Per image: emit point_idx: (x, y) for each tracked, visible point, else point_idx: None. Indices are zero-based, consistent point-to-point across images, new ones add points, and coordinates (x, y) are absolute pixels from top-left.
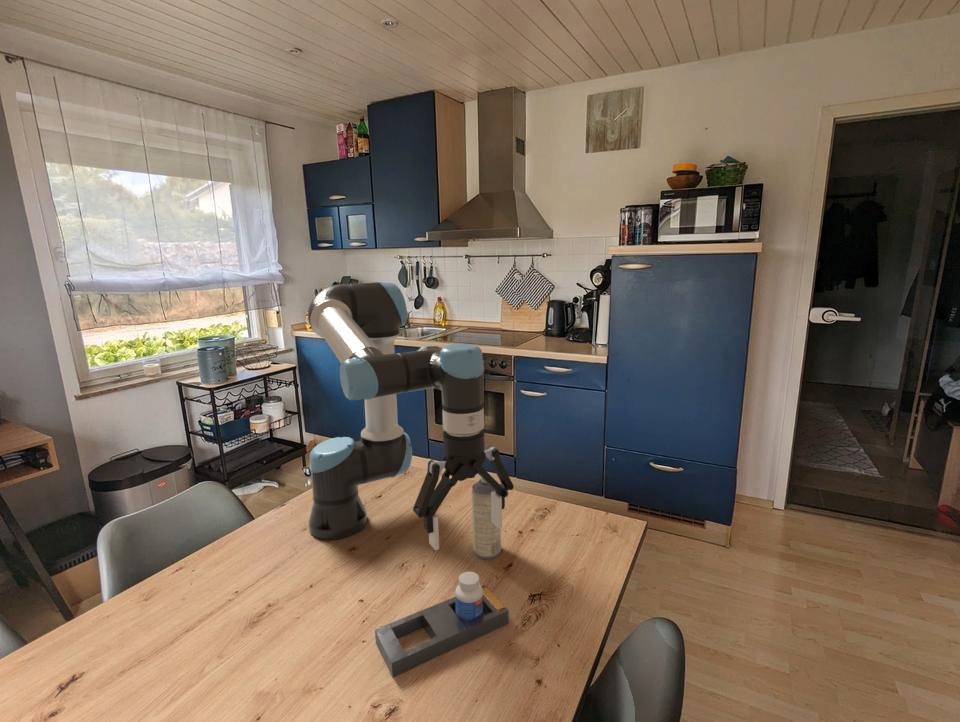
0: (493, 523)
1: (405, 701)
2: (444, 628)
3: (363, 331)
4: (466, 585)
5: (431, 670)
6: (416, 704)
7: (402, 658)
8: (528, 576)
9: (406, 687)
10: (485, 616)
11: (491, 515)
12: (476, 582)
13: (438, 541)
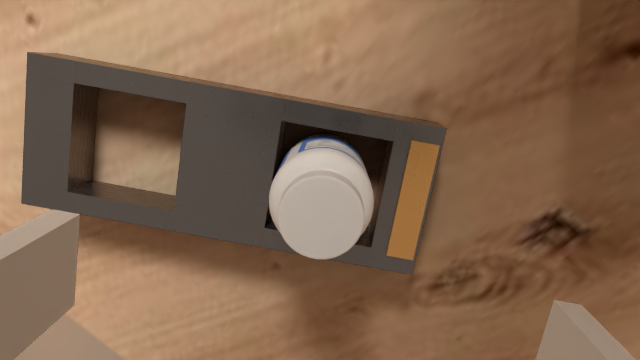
0: (547, 328)
1: None
2: (208, 200)
3: None
4: (286, 241)
5: (141, 237)
6: None
7: (53, 208)
8: (627, 145)
9: None
10: None
11: (579, 332)
12: (326, 258)
13: (37, 334)
